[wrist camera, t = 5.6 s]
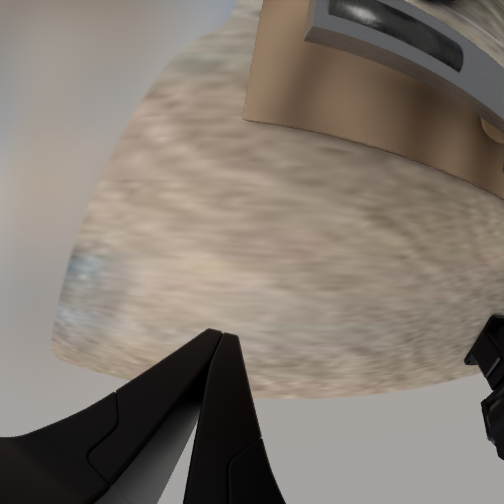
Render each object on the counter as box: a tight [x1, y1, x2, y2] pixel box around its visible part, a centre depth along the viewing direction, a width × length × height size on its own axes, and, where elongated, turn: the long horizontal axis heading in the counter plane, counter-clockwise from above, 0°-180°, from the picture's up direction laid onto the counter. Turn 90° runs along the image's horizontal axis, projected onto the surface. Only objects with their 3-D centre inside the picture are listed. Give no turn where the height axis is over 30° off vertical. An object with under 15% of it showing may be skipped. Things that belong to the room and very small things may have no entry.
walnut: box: [481, 118, 504, 143], centre depth 11 cm, size 3×3×3 cm
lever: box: [303, 0, 504, 134], centre depth 7 cm, size 19×3×2 cm, turn 81°
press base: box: [243, 0, 504, 200], centre depth 13 cm, size 24×10×2 cm, turn 82°
